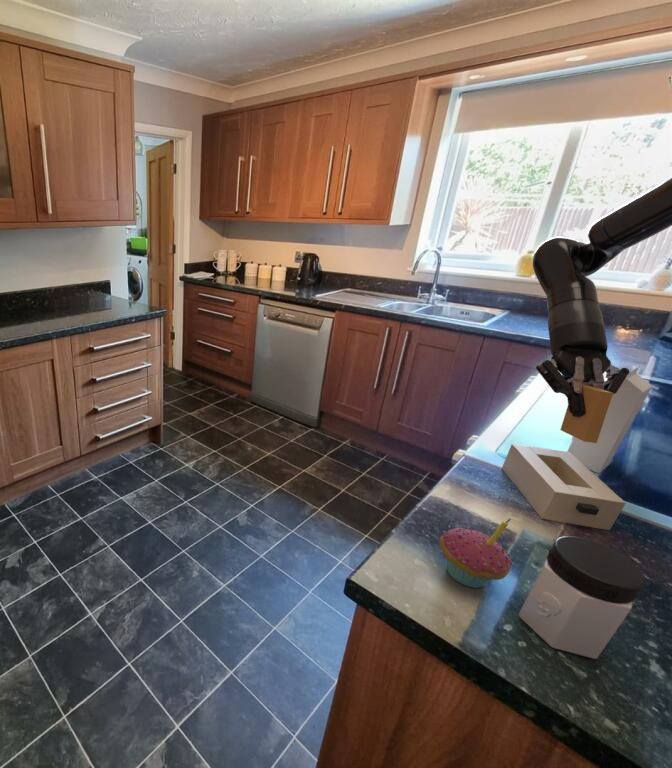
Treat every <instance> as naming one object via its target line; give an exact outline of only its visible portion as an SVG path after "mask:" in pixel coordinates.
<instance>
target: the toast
mask: <svg viewBox="0 0 672 768" xmlns="http://www.w3.org/2000/svg"><path fill="white" fill-rule="evenodd" d="M581 394H583V395H584V402H585V410H586V413H585V415H583V416H580V417H573V415H572V413H570V411H569V407H568V406H567V407H566V411H565V414H564V417H563V421H562V423H561V427H560V429H559V430H560V431H562V432H563V433H565V434H568V435H569V436H572V437H573V436H574V437H576V438H578V439H580V440H582V441H584V442H591V443H597V440H598V437H599V434H600V431H601V428H602V425H603V422H604V419H605V416H606V413H607V410H608V407H609V404H610V401H611V398H612V395H613V393H612V392H609V391H605V390H602V389H599V388H595V387H592V386H588V385H583V384H582V393H581Z"/></svg>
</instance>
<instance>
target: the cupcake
mask: <svg viewBox="0 0 672 768" xmlns="http://www.w3.org/2000/svg"><path fill="white" fill-rule="evenodd" d="M511 520H512V519H511V518H508V519H507V520H503V521H502V522H501V523H500V525H499V526H498V527H497V529H496V530H495V531H494V532H493V533H492V534H491V536H490V535H488V534H487V533H484V532H481V531H478V530H475V529H470V528H467V527H453V528H451V529H449V530H446V531H445V532H443V534H442V535H441V536H440V538H439V541H438V543H439V548H440V550H441V552H442V555H443V557H444V558H445V561H446V571H447V573H448V574H449V576H450V577H451V578H452V579H454V581H456V582H458V583H459V584H461V585H463V586H466V587H469V588H472V589H478V588H482V587H483V586H485V585H486V584H488V583H489V582H490V581H491V580H492V581H493V580H495V581H496V580H497V581H499V580H503V579H505V578H506V577H507V575H509V573H510V570H511V568H512V566H513V564H512V562H513V559H512V556H510V554H508V551H507V550H506V549H505V547H504V546H502V544H500V543H499V542H498V541H497V540H498V538H499V537H500V536H501V535H502V533H503V532H504V531H505V530H506V528H507V527H508V526H509V522H510V521H511Z"/></svg>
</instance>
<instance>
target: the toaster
mask: <svg viewBox="0 0 672 768" xmlns="http://www.w3.org/2000/svg"><path fill="white" fill-rule="evenodd" d="M501 470H503V472H504V473H505V474H506V476H507V477H508V478H509V480H511V482H512V483H513V484H514V486H515V487H516V489H518V491H519V492H520V493H521V495H522V496H523V497H524V498H525V500H526V501H527V502H528V503H529V505H530V506H531V507H532V509H533V510H534V511H535V512H536V513H537V515H538V516H539V518H540V519H542V520H546V521H552V522H557V523H558V522H559V523H564V524H570V525H575V526H582V527H587V528H593V529H599V530H605V531H610V530H611V529H612V527H613V526H614V524H615V522H616V520H617V519H618V517H619V515H620V514H621V512H622V511H623V509H624V507H625V506H626V502H625V501H624V500H623V499H622V498H621V497H620V496H619V495H617V493H615V491H613V489H611V488H610V487H609V486H608V485H607V484H605V483H604V481H602V480H601V479H600V478H599V477H598V476H597V475H596V474H595V473H593V471H592V470H589V469H588V468H587V467H586V466H584V465H583V464H582V463H581V462H580V461H579V460H578V459H577V458H576V457H575V456H573V455H572V454H571V453H570V452H567V451H566V450H559V449H552V448H551V449H550V448H544V447H537V446H531V445H521V444H515V443H512V444H511V445H510V447H509V450H508V452H507V455H506V457H505V459H504V462H503V464H502V466H501Z"/></svg>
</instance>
